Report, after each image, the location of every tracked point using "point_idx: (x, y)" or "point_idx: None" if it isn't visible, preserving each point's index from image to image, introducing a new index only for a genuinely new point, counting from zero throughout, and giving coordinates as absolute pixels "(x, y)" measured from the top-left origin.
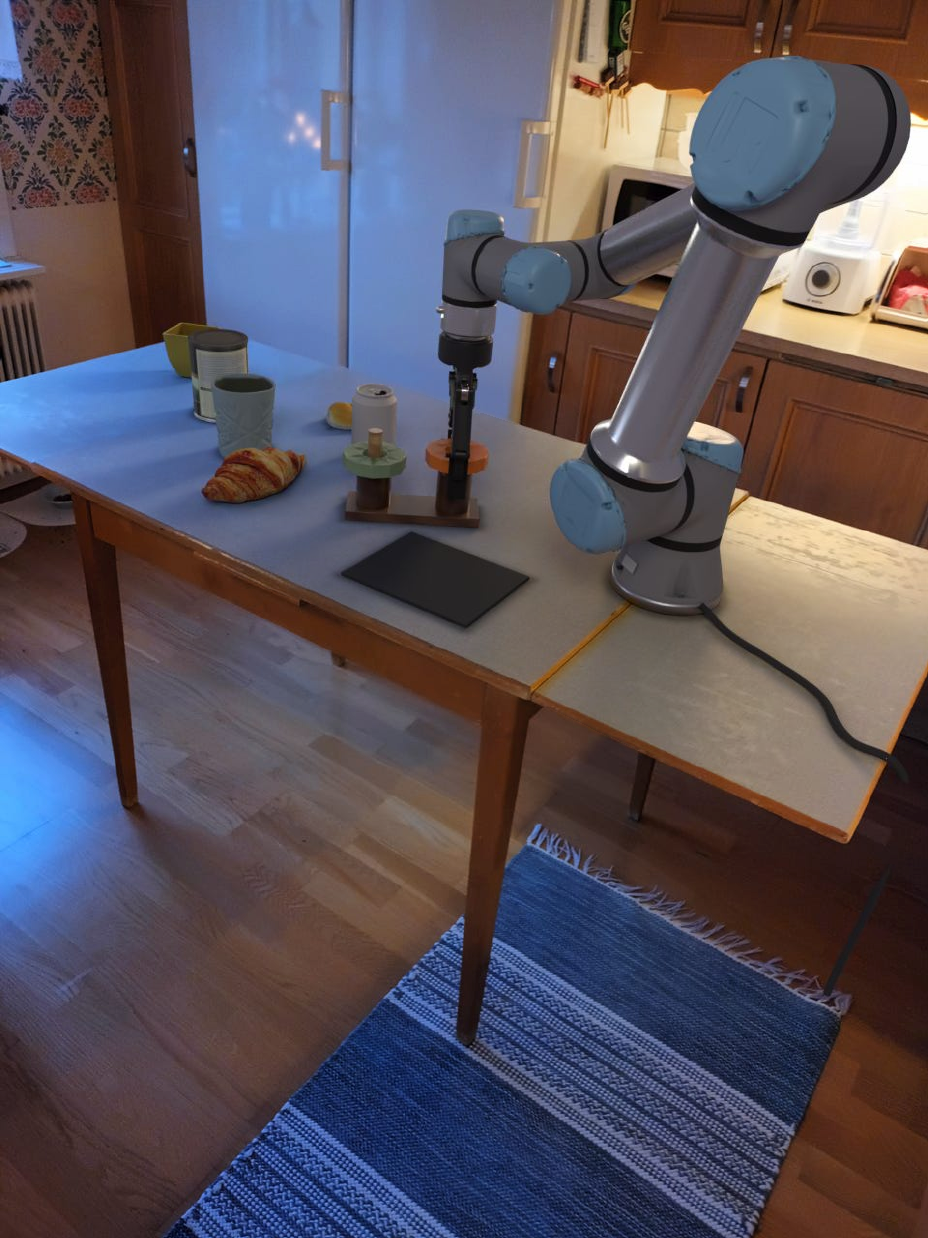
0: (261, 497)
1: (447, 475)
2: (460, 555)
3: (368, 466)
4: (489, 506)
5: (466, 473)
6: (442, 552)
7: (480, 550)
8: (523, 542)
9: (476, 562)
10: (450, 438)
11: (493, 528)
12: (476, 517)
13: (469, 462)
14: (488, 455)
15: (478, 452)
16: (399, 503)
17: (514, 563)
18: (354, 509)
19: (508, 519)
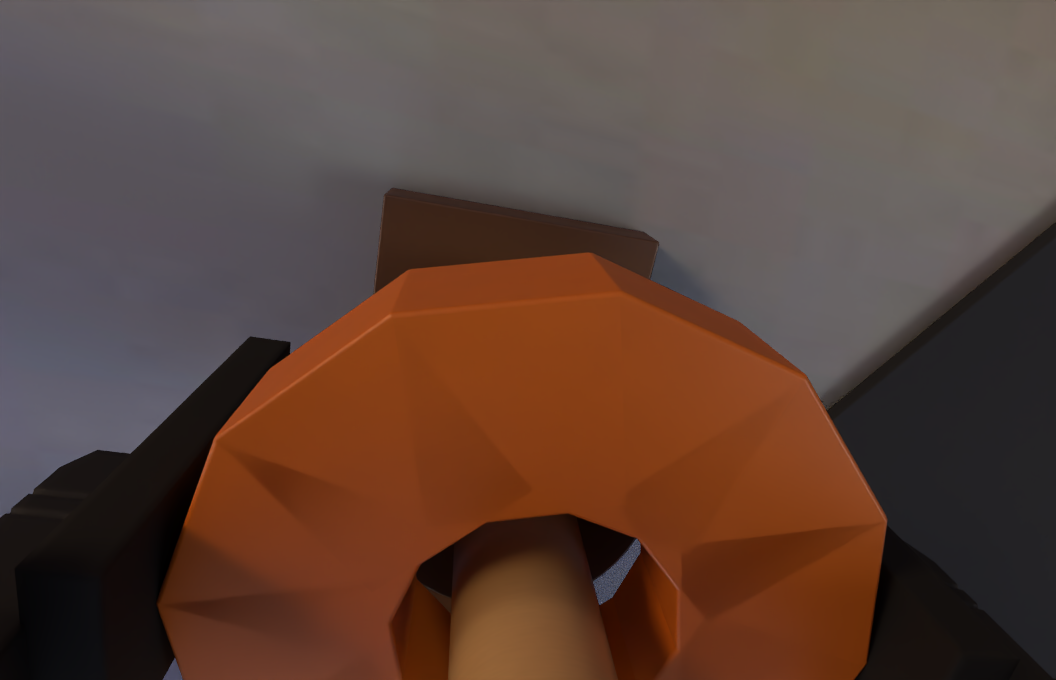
0: None
1: (601, 557)
2: (929, 385)
3: None
4: (368, 96)
5: (891, 535)
6: (883, 454)
7: (872, 272)
8: (847, 3)
9: (1012, 327)
10: (160, 657)
11: (657, 145)
12: (639, 254)
13: (876, 560)
14: (621, 282)
15: (639, 432)
16: (449, 603)
17: (1039, 128)
18: None
19: (553, 14)
